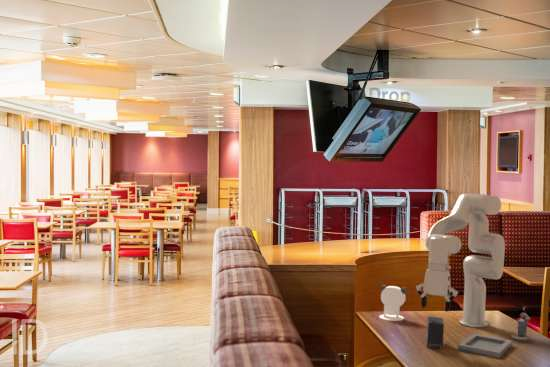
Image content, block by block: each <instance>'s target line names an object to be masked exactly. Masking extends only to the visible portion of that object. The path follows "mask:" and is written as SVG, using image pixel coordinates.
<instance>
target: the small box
mask: <svg viewBox="0 0 550 367" xmlns="http://www.w3.org/2000/svg"><path fill="white" fill-rule="evenodd" d="M444 324H445V323H444V319H443V317H438V316H437V317H436V316H430V315H429V316H427V325H426V326H427V327H426V341H425V342H426V343H427V344H426V349H436V348H438V349H439V350H443V346H444V345H443V344H444V332H445V330H444V327H445V326H444Z"/></svg>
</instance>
